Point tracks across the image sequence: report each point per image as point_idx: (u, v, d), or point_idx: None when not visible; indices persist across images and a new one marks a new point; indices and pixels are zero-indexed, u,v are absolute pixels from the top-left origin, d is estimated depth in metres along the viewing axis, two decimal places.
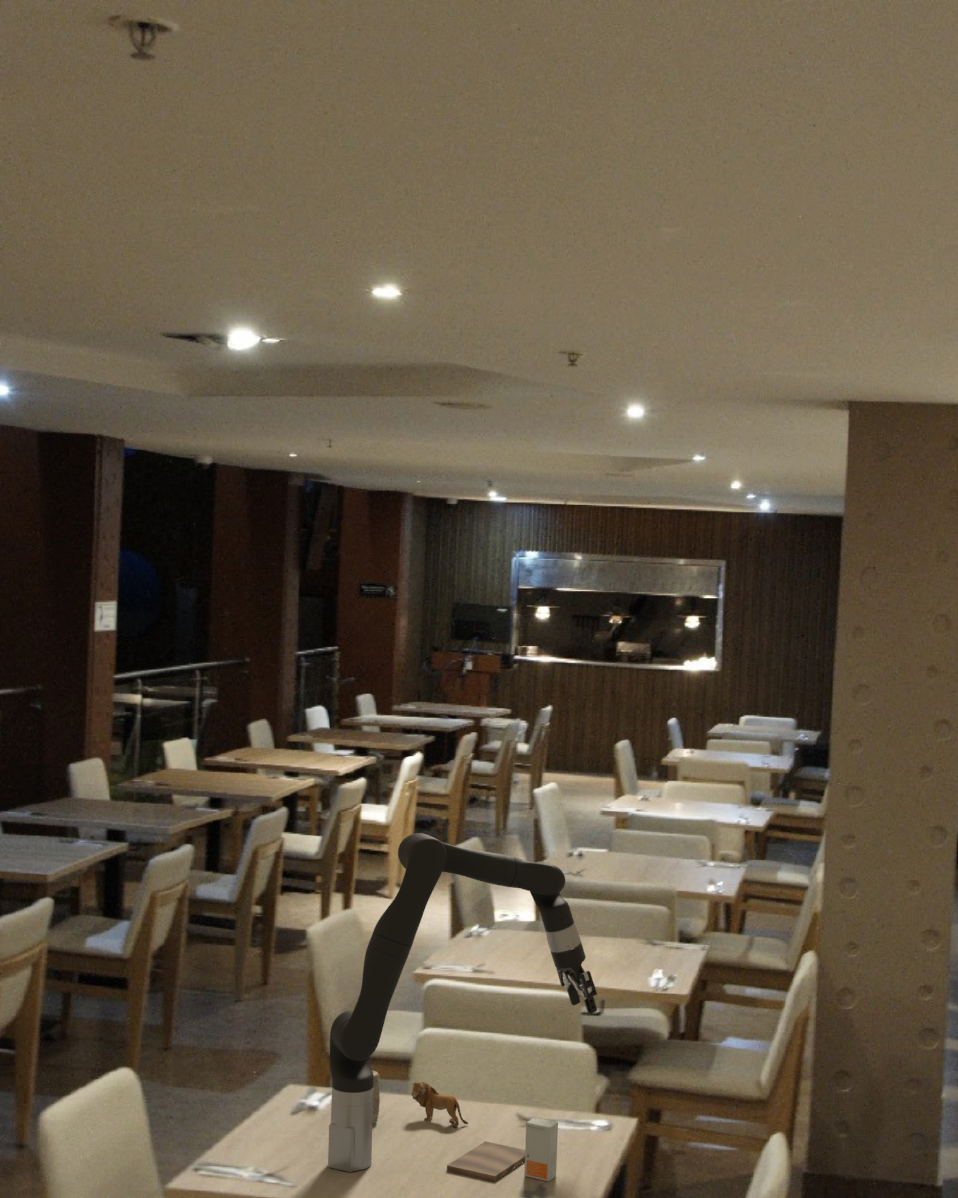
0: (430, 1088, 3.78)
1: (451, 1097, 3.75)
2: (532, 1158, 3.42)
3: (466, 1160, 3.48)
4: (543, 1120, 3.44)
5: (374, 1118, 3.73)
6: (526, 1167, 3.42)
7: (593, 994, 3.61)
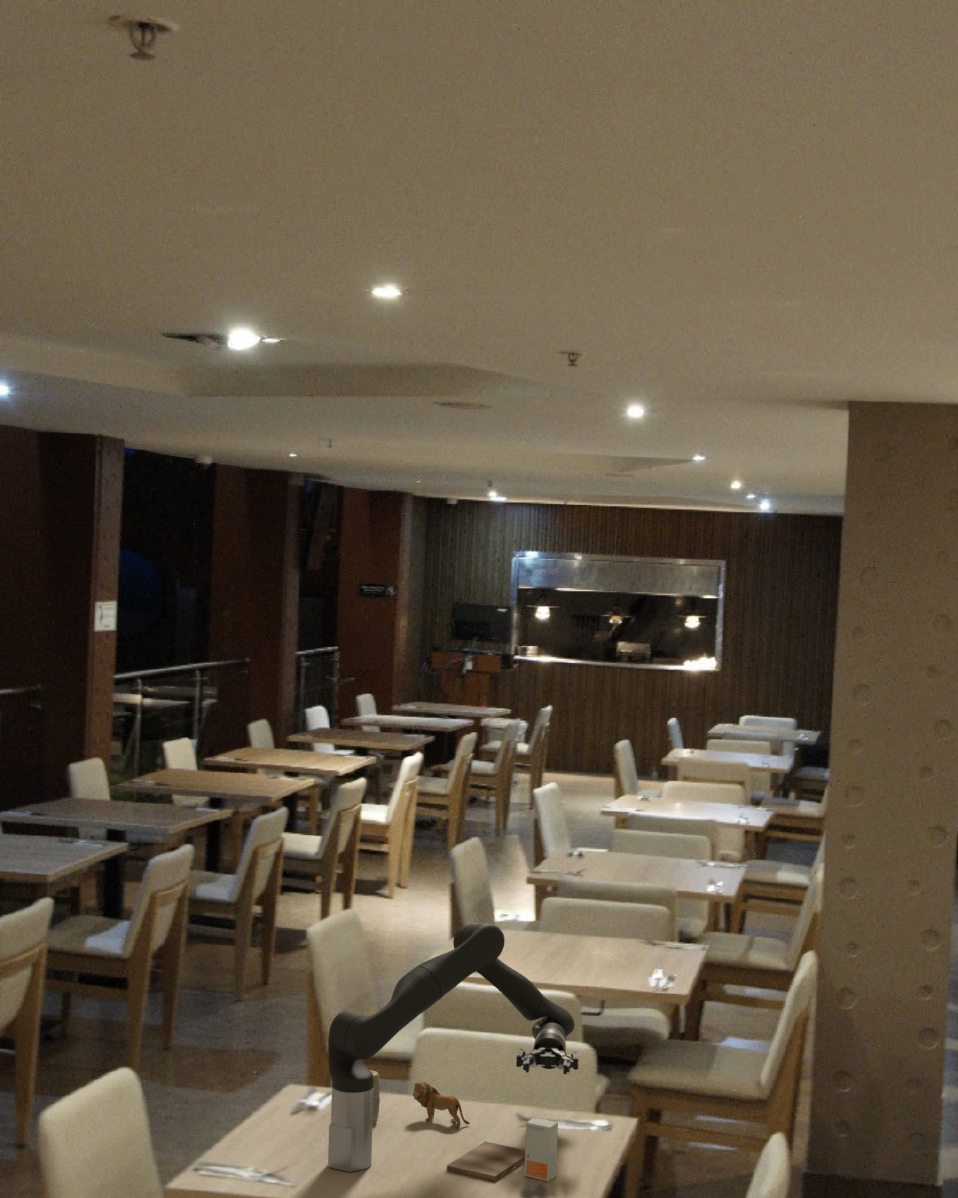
0: (432, 1089, 3.78)
1: (453, 1097, 3.75)
2: (532, 1158, 3.42)
3: (466, 1160, 3.48)
4: (543, 1120, 3.44)
5: (374, 1118, 3.73)
6: (526, 1167, 3.42)
7: (577, 1065, 3.58)
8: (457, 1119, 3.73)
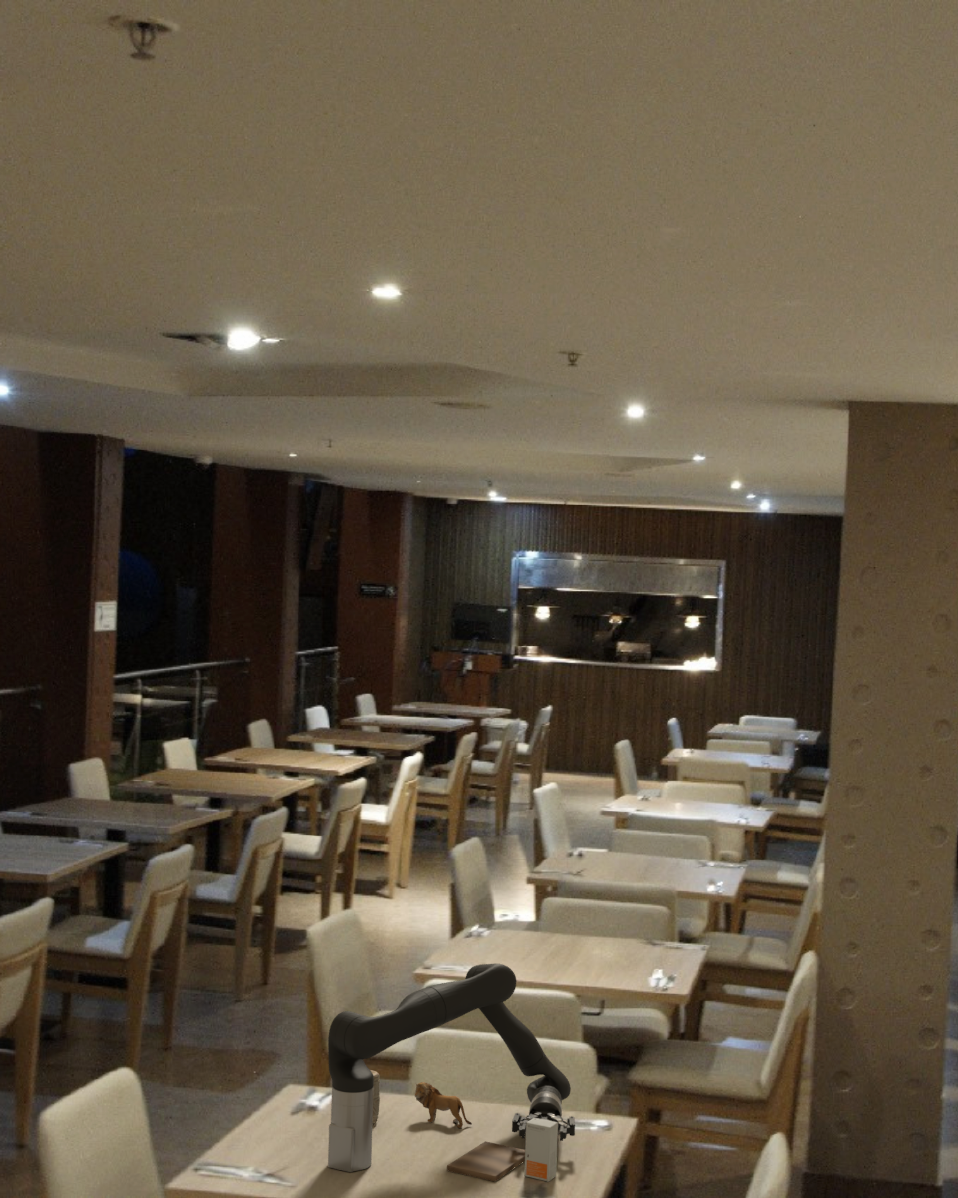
0: (434, 1089, 3.78)
1: (455, 1098, 3.75)
2: (532, 1158, 3.42)
3: (466, 1160, 3.48)
4: (543, 1120, 3.44)
5: (374, 1118, 3.73)
6: (526, 1167, 3.42)
7: (574, 1131, 3.54)
8: (459, 1119, 3.73)
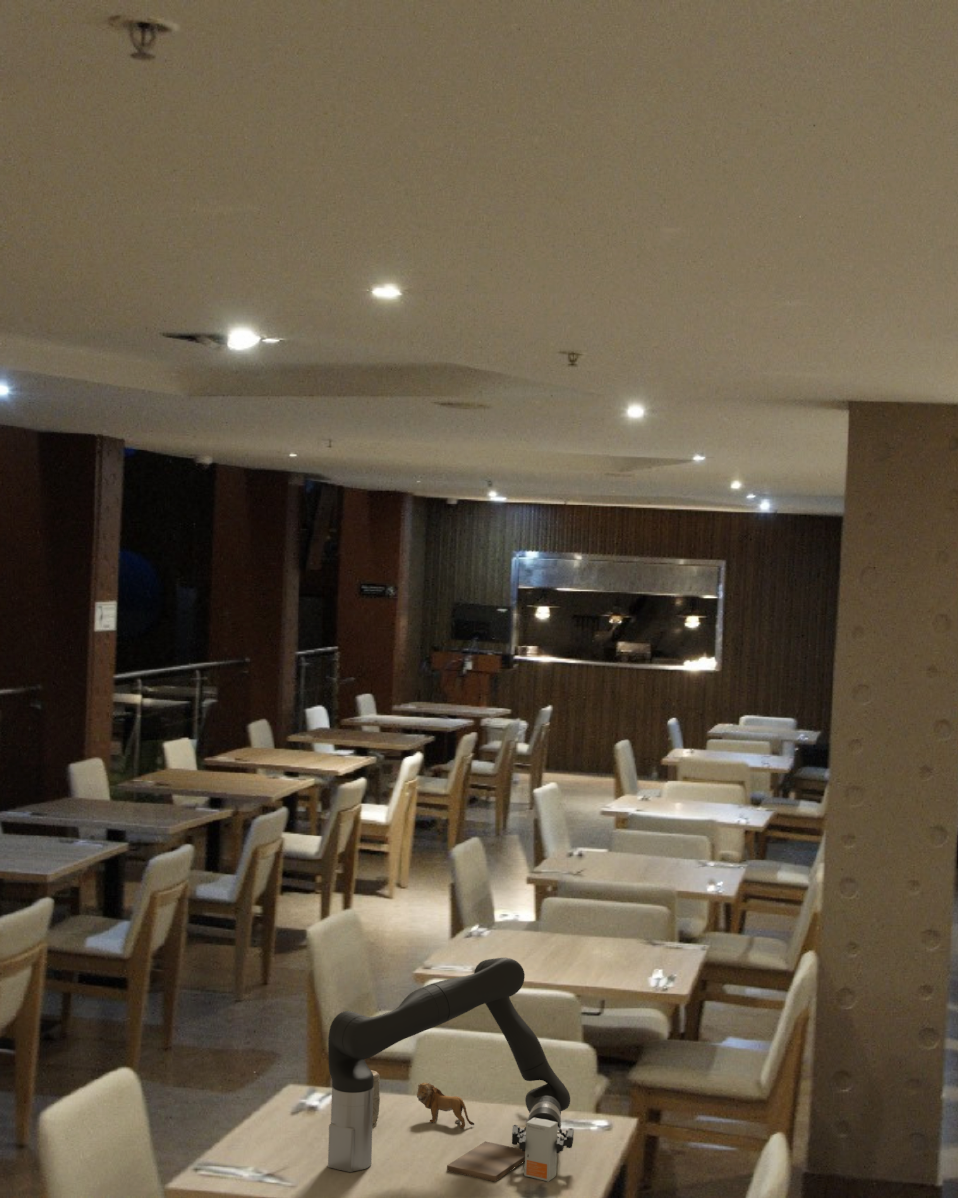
0: (436, 1090, 3.78)
1: (457, 1098, 3.75)
2: (532, 1158, 3.42)
3: (466, 1160, 3.48)
4: (543, 1120, 3.44)
5: (374, 1118, 3.73)
6: (526, 1167, 3.42)
7: (571, 1143, 3.45)
8: (462, 1120, 3.73)
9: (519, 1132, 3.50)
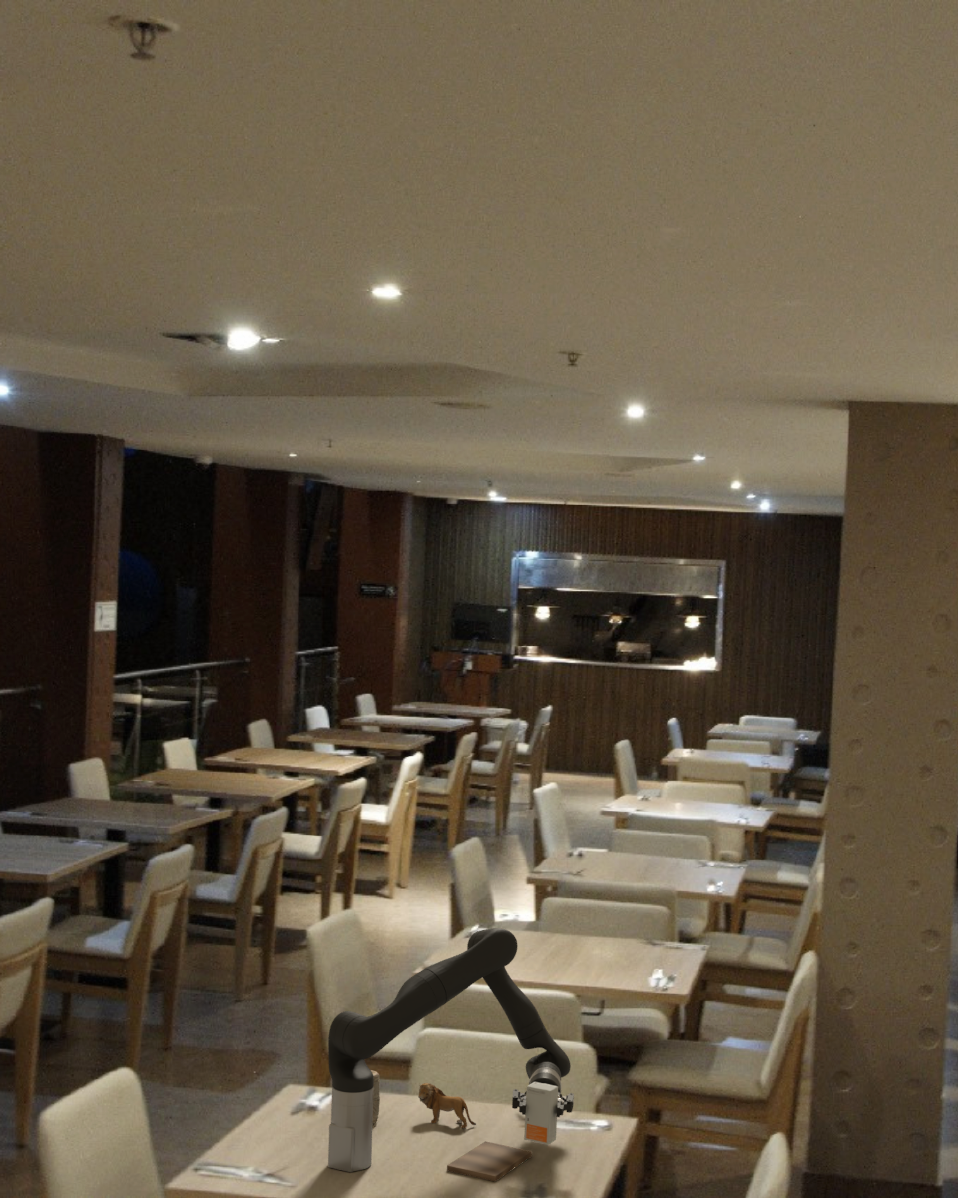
0: (437, 1090, 3.77)
1: (459, 1098, 3.74)
2: (532, 1122, 3.42)
3: (466, 1160, 3.48)
4: (544, 1084, 3.44)
5: (374, 1118, 3.73)
6: (526, 1131, 3.42)
7: (571, 1108, 3.45)
8: (464, 1120, 3.73)
9: (519, 1096, 3.49)
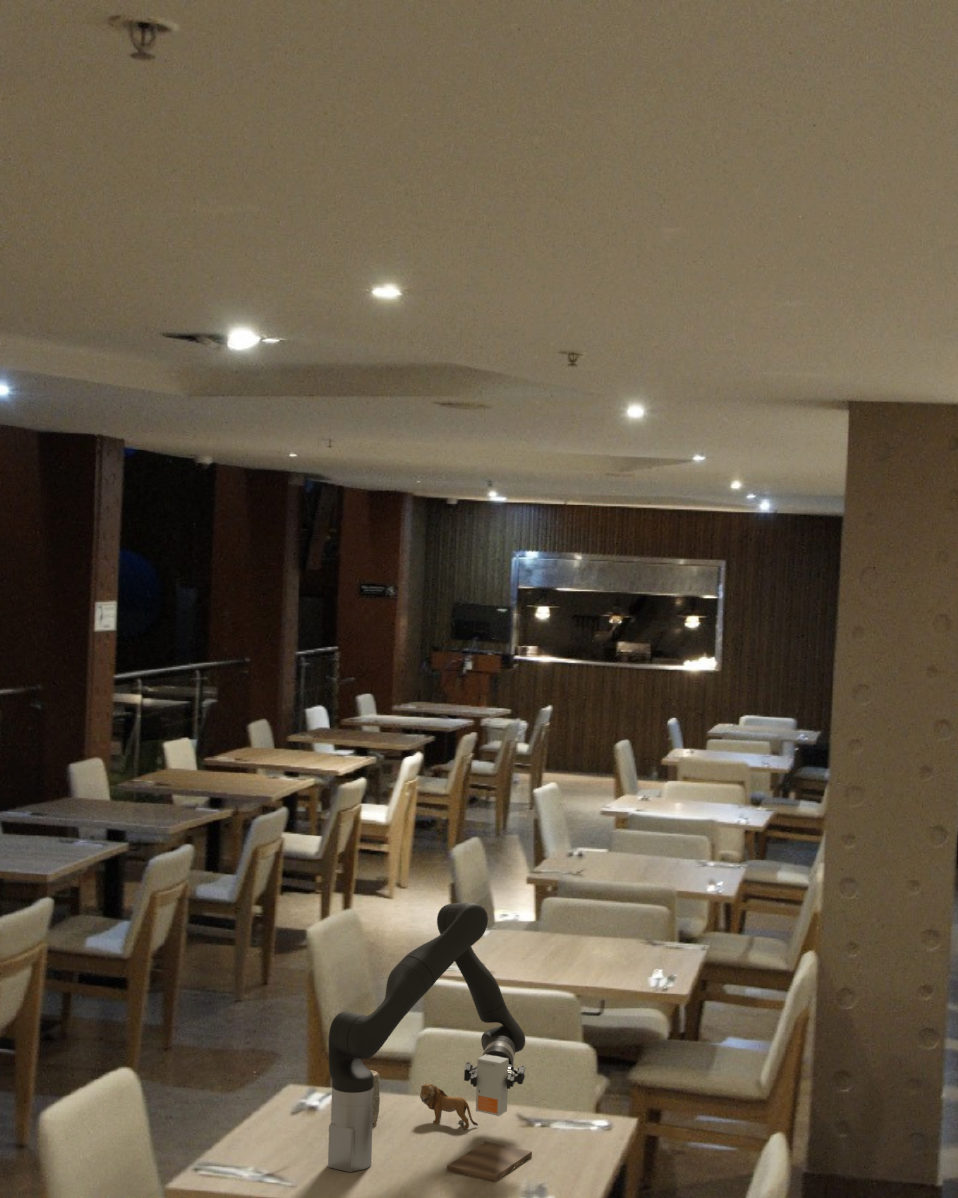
0: (439, 1091, 3.77)
1: (461, 1099, 3.74)
2: (483, 1094, 3.49)
3: (466, 1160, 3.48)
4: (495, 1057, 3.51)
5: (374, 1118, 3.73)
6: (477, 1102, 3.49)
7: (522, 1079, 3.52)
8: (466, 1120, 3.72)
9: (472, 1069, 3.57)
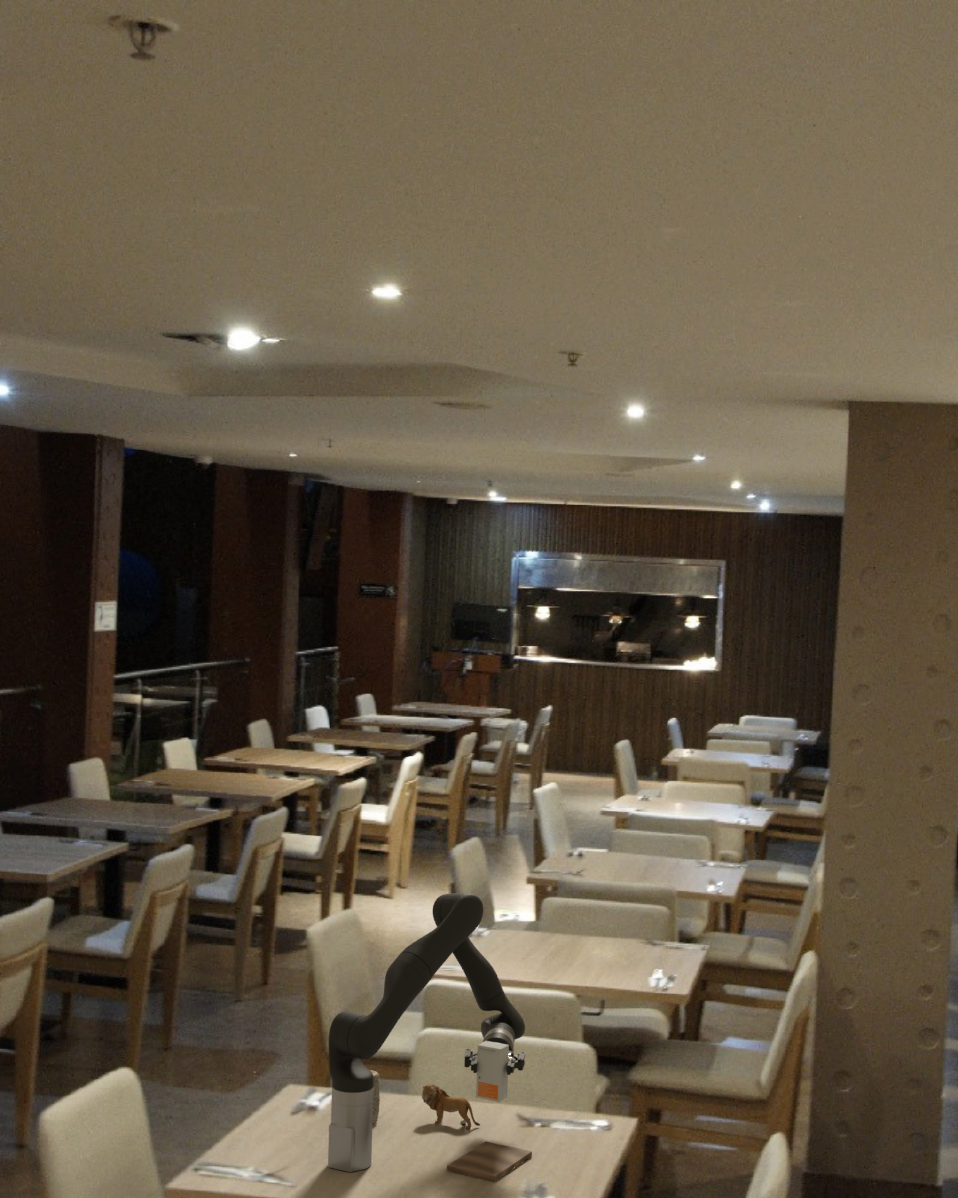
0: (441, 1091, 3.77)
1: (463, 1099, 3.74)
2: (483, 1080, 3.49)
3: (466, 1160, 3.48)
4: (495, 1043, 3.51)
5: (374, 1118, 3.73)
6: (478, 1088, 3.50)
7: (522, 1066, 3.52)
8: (468, 1121, 3.72)
9: (472, 1056, 3.57)
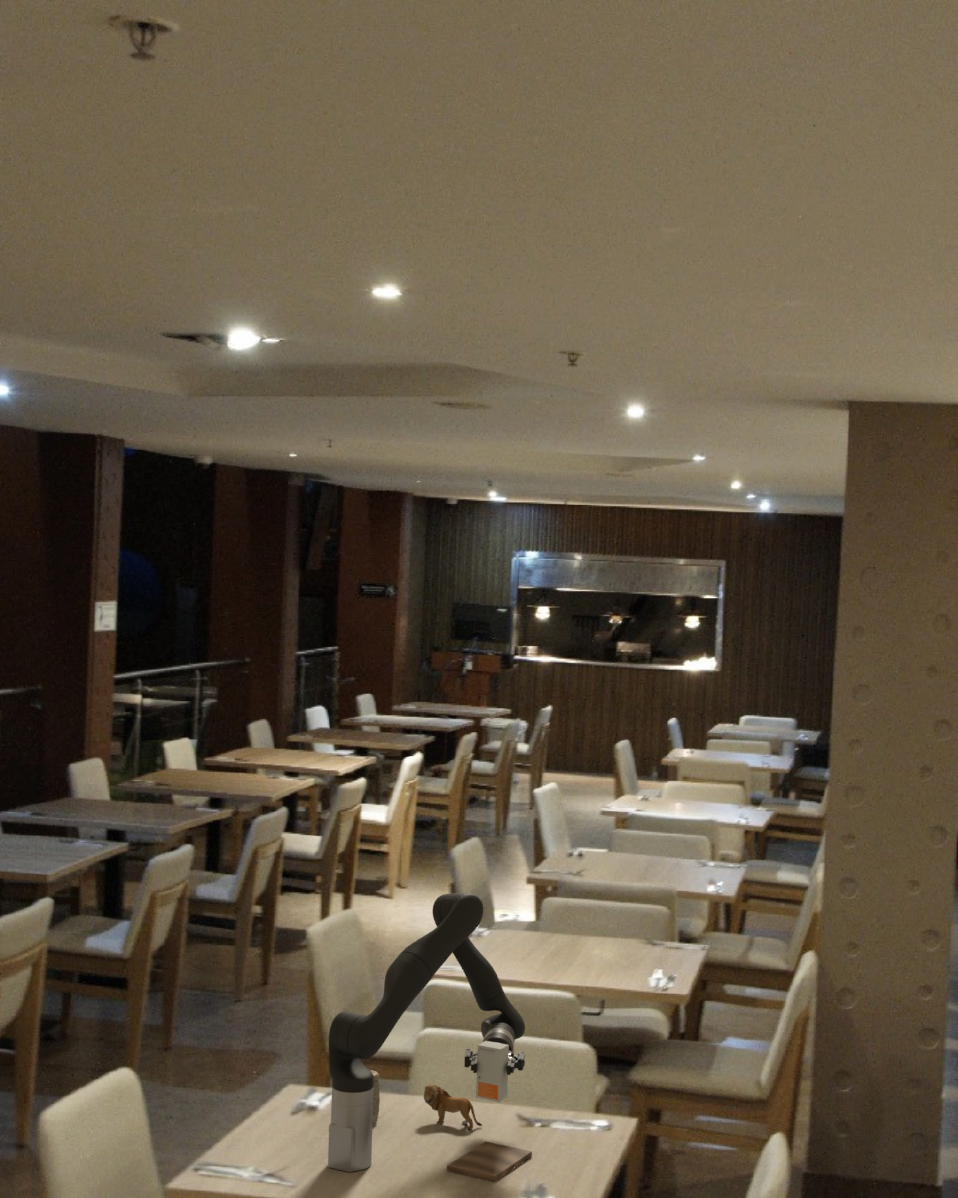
0: (443, 1091, 3.77)
1: (465, 1099, 3.74)
2: (483, 1080, 3.49)
3: (466, 1160, 3.48)
4: (495, 1043, 3.51)
5: (374, 1118, 3.73)
6: (478, 1088, 3.50)
7: (522, 1066, 3.52)
8: (470, 1121, 3.72)
9: (472, 1056, 3.57)
